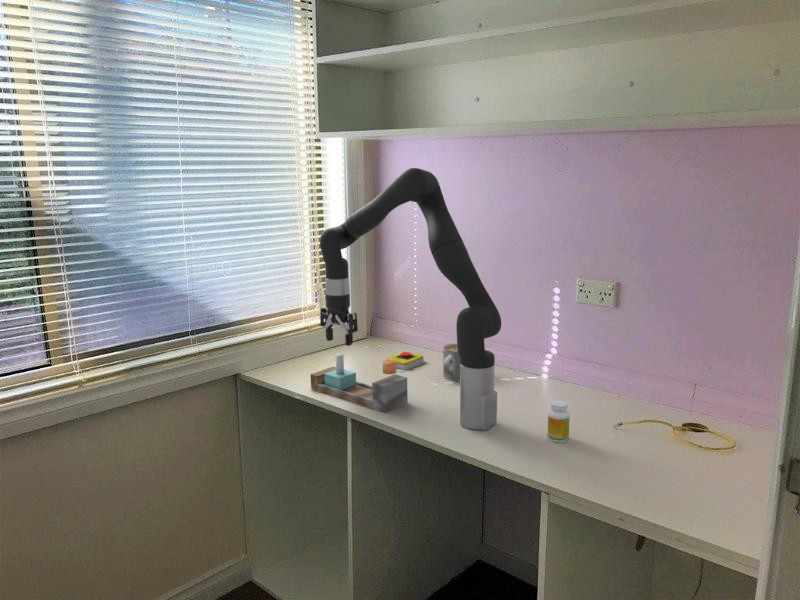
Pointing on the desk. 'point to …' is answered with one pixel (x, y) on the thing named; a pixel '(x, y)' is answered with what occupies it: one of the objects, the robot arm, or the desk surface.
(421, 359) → the emergency button
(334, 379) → the carriage
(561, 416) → the supplement bottle
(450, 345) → the coffee mug
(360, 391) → the rail
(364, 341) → the desk surface
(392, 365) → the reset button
